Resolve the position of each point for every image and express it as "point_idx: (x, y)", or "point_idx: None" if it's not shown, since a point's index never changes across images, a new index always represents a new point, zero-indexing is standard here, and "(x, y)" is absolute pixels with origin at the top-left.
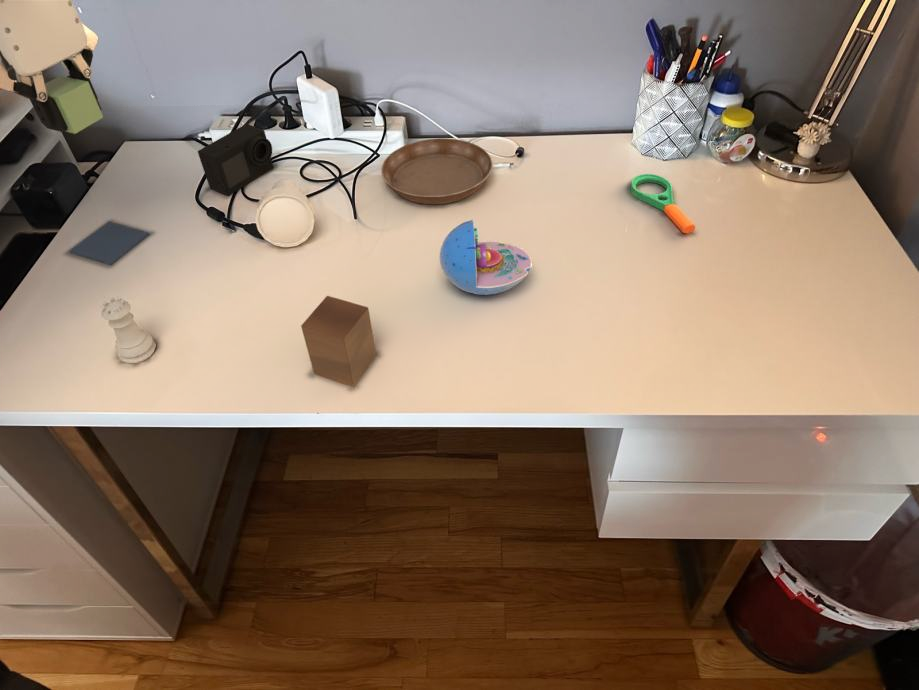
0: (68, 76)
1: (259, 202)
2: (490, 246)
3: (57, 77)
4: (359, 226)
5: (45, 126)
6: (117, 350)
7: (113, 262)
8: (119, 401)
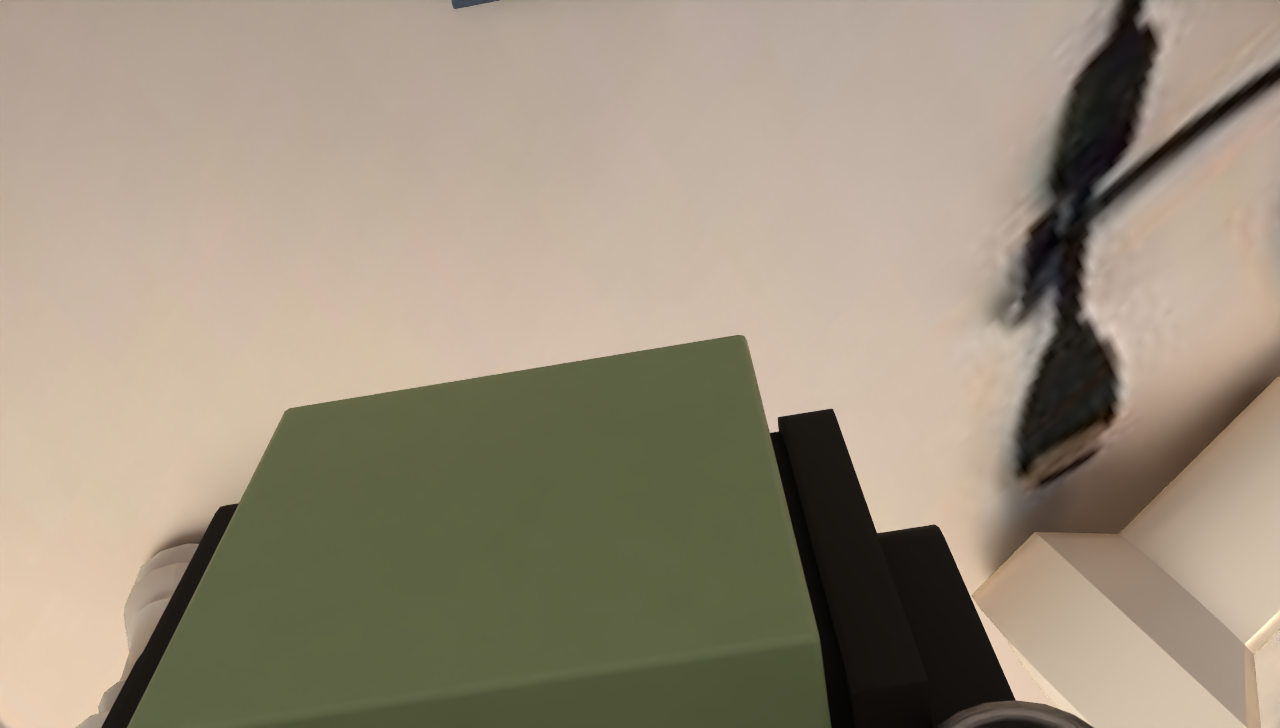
0: (888, 704)
1: (1102, 644)
2: None
3: (732, 660)
4: (1270, 720)
5: (223, 509)
6: (125, 622)
7: (476, 3)
8: (43, 712)
